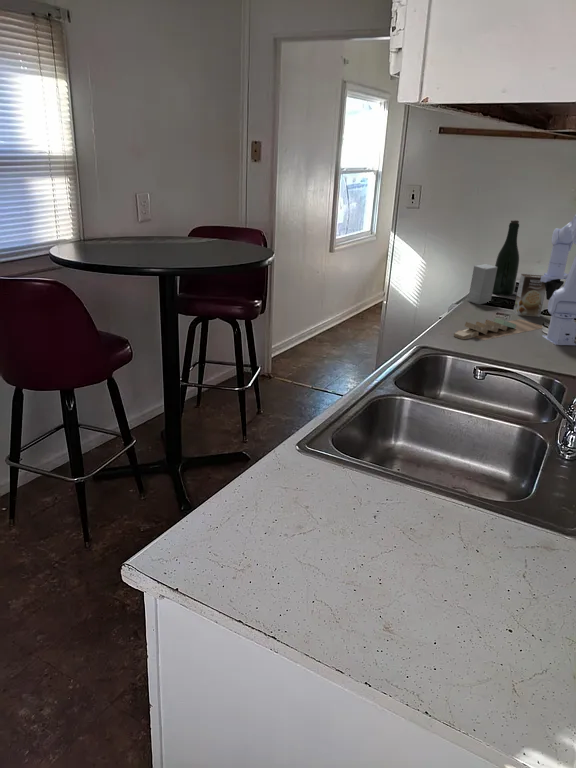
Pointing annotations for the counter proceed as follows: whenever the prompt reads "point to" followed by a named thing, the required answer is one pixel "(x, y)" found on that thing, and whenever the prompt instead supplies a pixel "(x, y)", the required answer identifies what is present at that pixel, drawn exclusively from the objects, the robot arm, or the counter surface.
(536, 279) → the coffee box
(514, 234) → the beer bottle
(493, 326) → the birch domino
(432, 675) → the counter surface
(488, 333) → the thin wooden board
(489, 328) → the birch domino
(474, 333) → the birch domino
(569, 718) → the counter surface
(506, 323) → the green domino
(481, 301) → the skincare box
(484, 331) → the birch domino
